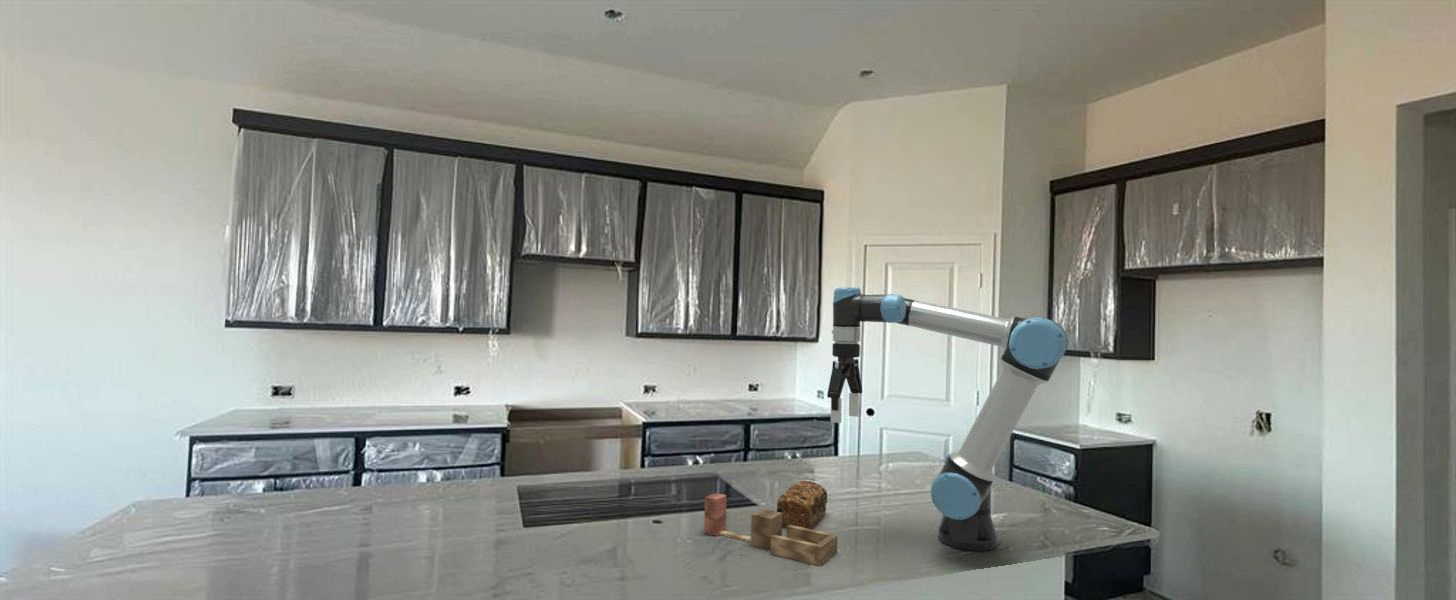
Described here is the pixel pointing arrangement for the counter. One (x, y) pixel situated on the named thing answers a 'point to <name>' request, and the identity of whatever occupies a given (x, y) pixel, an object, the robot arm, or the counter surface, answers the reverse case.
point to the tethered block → (761, 522)
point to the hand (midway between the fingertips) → (845, 419)
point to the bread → (802, 504)
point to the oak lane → (805, 545)
